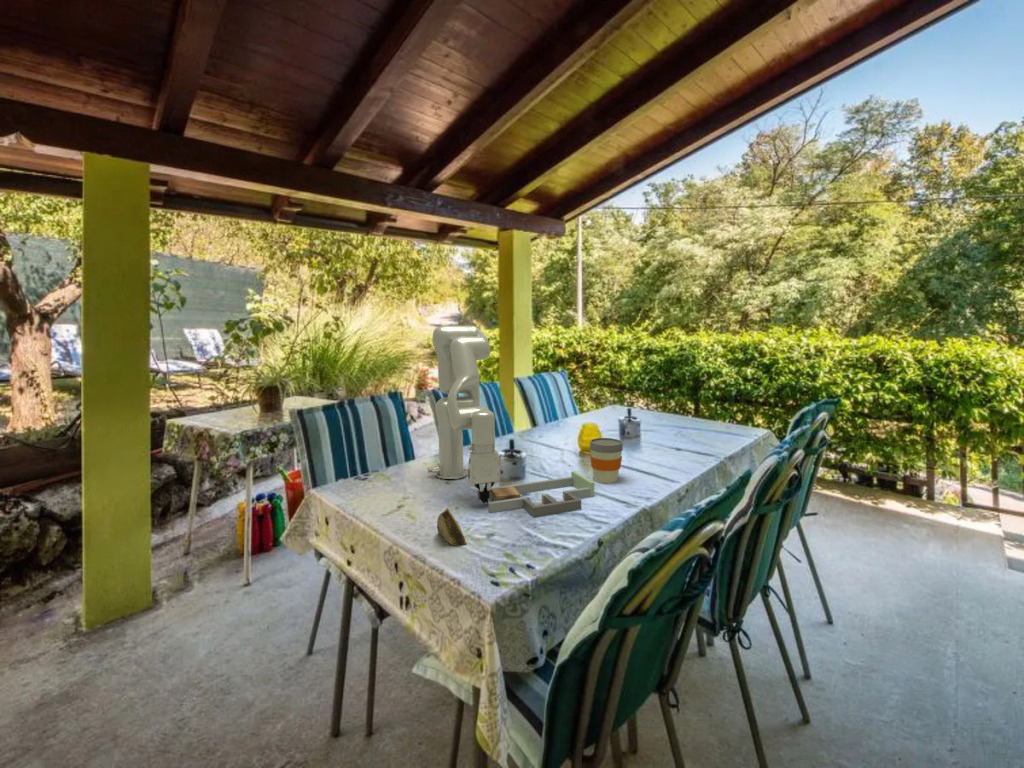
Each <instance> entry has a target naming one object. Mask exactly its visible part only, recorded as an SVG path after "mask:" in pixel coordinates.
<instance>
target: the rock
mask: <svg viewBox="0 0 1024 768" xmlns="http://www.w3.org/2000/svg"><path fill="white" fill-rule="evenodd" d="M436 528H437V532H438V534H439V535H440V534H441V535H440V536H441V537H442V536H443V537H444V538H443V537H442V538H443V539H445V541H446V540H447V541H448V542H449V543H450V544H451V545H450V544H449V543H448V542H447V541H446V542H447V543H448V544H449V545H450V546H464V544H466V545H467V542H466V538H465V536H464V534H463V531H462V529H461V525H460V524H459V523H458V521H457V519H456V518H455V517H454V515H453V513H452V512H451V511H450V509H449V508H448V507H447V508H446V509H444V511H443V512H442V513H440V514H439V515H438V517H437V521H436Z"/></svg>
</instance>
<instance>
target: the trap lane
mask: <svg viewBox="0 0 1024 768" xmlns="http://www.w3.org/2000/svg"><path fill="white" fill-rule="evenodd" d="M570 473H571V474H570V475H571V476H568V477H567V476H565V477H559V478H553V479H545V480H539V481H532V482H531V481H530V482H523V483H518V484H517V483H516V484H510V485H508V484H507V485H503V486H495V487H491V489H490V491H489V499H492V489H493V488H504V487H515V488H516V490H517V491H518V492H519V494H520V495H521V494H526V493H533V492H538V491H539V490H540V491H545V489H547V490H551V488H554V489H558V488H557V487H561V488H565V487H564V486H567V487H572V486H571V485H574V486H573V487H574V489H568V490H562V500H557V499H555V498H554V497H552V496H551V495H550V494H549V493H542V494H541V503H538V504H535V503H534V502H532V500H531V499H529V498H528V497H527V496H520V498H514V499H507V500H500V501H494V502H493V501H488V502H487V503H488V513H490V514H491V513H498V512H505V511H510V510H516V509H517V510H518V509H521V508H522V509H524V510H525V511H526V512H527V513H528V514H529V515H530V516H532V517H533V518H537V517H538V518H539V517H543V516H548V515H554V514H555V515H556V514H560V513H561V512H562V513H567V511H568V512H572V510H574V511H578V510H577V509H580V510H582V499H584V498H583V497H587V498H591V497H590V496H593V497H595V482H594V481H592V480H591V479H589V478H588V477H585V476H584V475H582V474H581V473H579V472H577V471H576V470H573V471H571V472H570ZM576 487H577V488H576ZM579 498H580V499H579ZM476 499H477V500H480V499H479V489H477V490H476ZM563 499H564V500H563Z"/></svg>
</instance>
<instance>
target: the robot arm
mask: <svg viewBox="0 0 1024 768" xmlns="http://www.w3.org/2000/svg"><path fill="white" fill-rule="evenodd" d="M432 344H433V349H434V351H435V355H436V357H437V375H438V376H437V377H438V378H437V379H438V389H439V391H440V393H442V394H445V395H447V397H443V398H440V399H439V400H438V401H436V403H435V415H436V420H437V427H438V428H437V430H438V453H439V455H438V456H439V457H438V458H439V459H438V460H439V461H438V462H439V463H437V465H435V466H434V467H432V466H431V467H430V466H429V467H427V473H432V474H435V476H437V477H439V478H438V479H440V478H443V479H442V480H444V479H455V480H460V478H461V479H463V477H464V478H465V476H466V477H468V483H467V484H468V485H467V486H468V487H470V488H471V487H472V488H476V489H477V490H479V500H480V501H481V502H482V503H483V504H485V503H488V502H489V499H490V498H489V491H490V489H491V488H493V486H494V485H496V484H499V483H500V481H501V466H500V465H501V464H500V458H499V454H498V453H499V452H498V451H497V450H496V449H495V448H496V444H495V443H496V441H495V439H496V438H495V437H496V434H495V433H496V431H495V428H496V427H495V421H496V420H495V413H494V412H493V411H491V410H490V409H489V408H488V407H486V406H482V405H481V403H480V402H481V400H480V398H481V397H480V373H479V372H480V371H479V368H478V362H477V360H486V359H488V358H489V357H490V355H491V345H490V342H489V340H488V337H486V334H484V333H483V331H481V329H479V327H478V326H476V325H457V324H456V325H440V326H438V327H436V328H434V330H433V332H432ZM458 394H466V395H464V396H461V395H460V396H458ZM464 430H465V431H467V430H471V444H470V445H468V446H467V450H468V451H470V454H469V459H468V467H467V468H468V469H464V434H463V431H464ZM437 477H436V478H437Z"/></svg>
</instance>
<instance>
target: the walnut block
mask: <svg viewBox="0 0 1024 768" xmlns="http://www.w3.org/2000/svg"><path fill="white" fill-rule="evenodd" d="M492 488H493V489H492V498H491V500H492V502H494V501H500V500H507V499H514V498H520V497H521V493H520V494H519V492H518V491H517V490H516V488H515V487H504V488H494V487H492Z"/></svg>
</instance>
